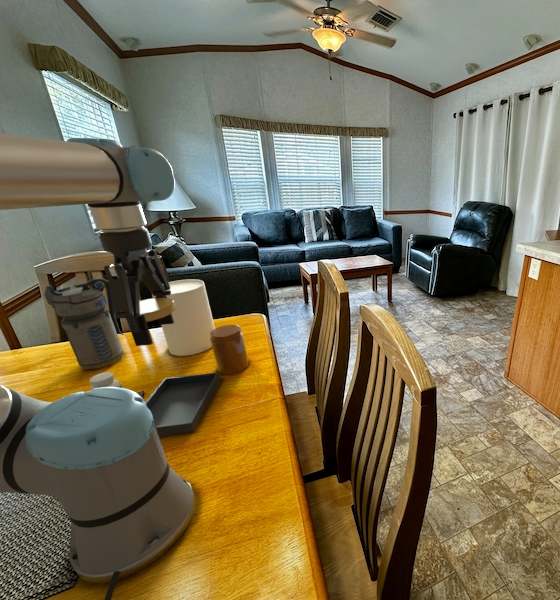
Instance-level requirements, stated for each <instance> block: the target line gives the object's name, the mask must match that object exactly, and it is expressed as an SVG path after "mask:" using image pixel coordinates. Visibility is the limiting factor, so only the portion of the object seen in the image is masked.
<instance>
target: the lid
mask: <svg viewBox="0 0 560 600" xmlns="http://www.w3.org/2000/svg"><path fill="white" fill-rule="evenodd" d="M152 298H153V297H152ZM175 309H176V308H175V305H174V301H173V300H172V299H170V298H153V299H151V298H147V299H142V300H140V314H144V317H145V320H146V323H147V322H153V321H156V320H158V319H160V318H163V317H165V316H167V315H170V314H171V313H173V312H174V311H175ZM121 320H122V321H123V322H124V323H128V322H127V320H126V319H125V318H121Z"/></svg>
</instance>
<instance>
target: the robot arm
mask: <svg viewBox="0 0 560 600" xmlns="http://www.w3.org/2000/svg"><path fill="white" fill-rule="evenodd" d="M175 188H176V178H175V175H174V170H173V168H172V165H171V163H170V162H169V161H168V159H167V158H166V157H165V156H164V155H163V154H162V153H161V152H160V151H158V150H157V149H154V148H151V147H142V146H141V147H140V146H139V147H138V146H136V145H130V146H129V145H128V146H126V147H125V146H123V145H122V143H120V141H117V140H114V139H110V138H94V137H93V138H92V137H88V138H87V137H71V138H68V139H67V140H58V139H49V138H41V137H34V136H25V135H15V134H6V133H0V211H5V210H18V209H19V210H20V209H32V208H34V209H35V208H48V207H62V206H78V205H87V207H89V211H90V216H91V217H92V219H93V223H94V225H95V229H97V230H100V231H99V232H98V234H97V235H98V238H99V241H100V243H101V246H102V250H103V251H104V252H106V253H110V254H112V255H113V264H111V265H104V267H103V270H104V273H105V275H106V277H107V280H108V281H109V286H110V291H111V296H112V302H113V307H114V313H115V318H116V320H117V319H122V318H125V319H126V320H127V322H126V323H127V325H128V327H129V331H130V333H131V336H132V339H133V341H134V345H135V346H136V347H140V346H141V347H142V346H151V345H153V344H154V341H153V339H152V336H151V333H150V330H149V327H148V324H147V322H146V320H145V317H144V314H140V301H141V300H140V298H141V297H140V283H142V282H143V284H144V285H145V286H146V288H147V289H148V290H149V292H150V293H151V295H152V294H153V296H156V297H153V296H152V297H151V298H150V299H153V298H167V297H166V295H171V291H167V290H170V285H169V283H168V282H169V280H168V279H167V276H166V275H165V272H164V270H163V267H162V265H161V263H160V261H159V257H158V253H157V252H158V251H157V250H156V249H150V248H151V247H153V242H152V238H151V236H150V232H149V229H148V228H147V227H145V226H146V225H147V220H146V218H145V214H144V212H143V208H142V205H141V203H142V202H143V203H151V202H159V201H160V202H161V201H166V200H167V199H169V198H170V197H171V196H172V195H173V193H174V191H175ZM163 284H164V285H163ZM157 321H158V324H159V326H161V325H164V324H173V323H174V320H173V317H172V314H170V315H167V316H165V317H163V318H160V319H157ZM145 402H146V401H145V400H144V398H143V397H142V396H141V395H140V394H139V393H137V392H135V391H133V390H132V389H129V388H125V387H122V388H120V387H101V388H93V389H92V390H91V391H90V390H89V391H83V390H80V391H77V392H74V393H70V394H68V395H66V396H62V397H60V398H58V399H56V400H55V401H45V400H40V399H37V398H34V397H31V396H29V395H27V394H24V393H22V392H18V391H16V390H14V389H11V388H8V387H5V386H4V385H0V493H7V494H8V493H10V494H25V495H40V496H41V495H42V496H43V495H44V496H52V497H55V498H56V499H57V500H58V501H59V503H60V505H61V507H62V508H63V510H64V512H65V513H66V515H67V516H68V519H69V521H70V523H71V524H70V538H69V539H70V542H69V562H70V565H71V566H72V568H73V569H74V572H75V574H77V576H78V577H79V578H80V579H81V580H83V581H85V582H88V583H95V584H104V583H109V584H108V587H107V590H106V593H105V596H104V599H103V600H112V598H113V594H114V592H115V589H116V586H117V583H118V580H121V579H124V578H126V577H129V576H131V575H133V574H135V573H138V572H139V571H142V570H143V569H145V568H146V567H147V566H149V565H151V564H152V563H154V562H155V561H157V560H158V559H159V558H161V557H162V556H163V555H164V554H165V553H166V552H168V551H169V550H170V549H171V548H172V547H173V546H174V545H175V544H176V543H177V542H178V541H179V540H180V538H181V537H182V535H183V534H184V533H185V532H186V530H187V528H188V527H189V525H190V523H191V521H192V520H193V517H194V515H195V512H196V511H195V510H196V505H197V501H196V495H195V492H194V490H193V487H192V485H191V484H190V483H189V482H188V481H187V480H186V479H185V478H183V477H182V476H180V475H179V474H178V473H176V472H175V470H174V469H172V468H171V466H170V465H169V462H168V460H167V459H168V458H167V456H166V453H165V450H164V447H163V445H162V441H161V438H160V437H159V435H158V432H157V429H156V426H155V423H154V419H153V415H152V413H151V411H150V410H149V409H148V408H147V406H146V404H145Z"/></svg>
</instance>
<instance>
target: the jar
mask: <svg viewBox="0 0 560 600" xmlns="http://www.w3.org/2000/svg"><path fill="white" fill-rule="evenodd" d="M210 335H211V338H210V341H211V345H212V347H211V348H212V352H213V356H214V360H215V364H216V368H217V371H218V372H220V375H221V374H222V375H233V374H237V373H240V372H242V371H244V370H245V369H246V368H247V367H248V366H249V363H250V362H249V358H248V353H247V347H246V343H245V339H244V333H243V331H242V328H241V326H240V325H237V324H226V325H221V326H218V327H215V329H214V330H212V331H211V333H210Z"/></svg>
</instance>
